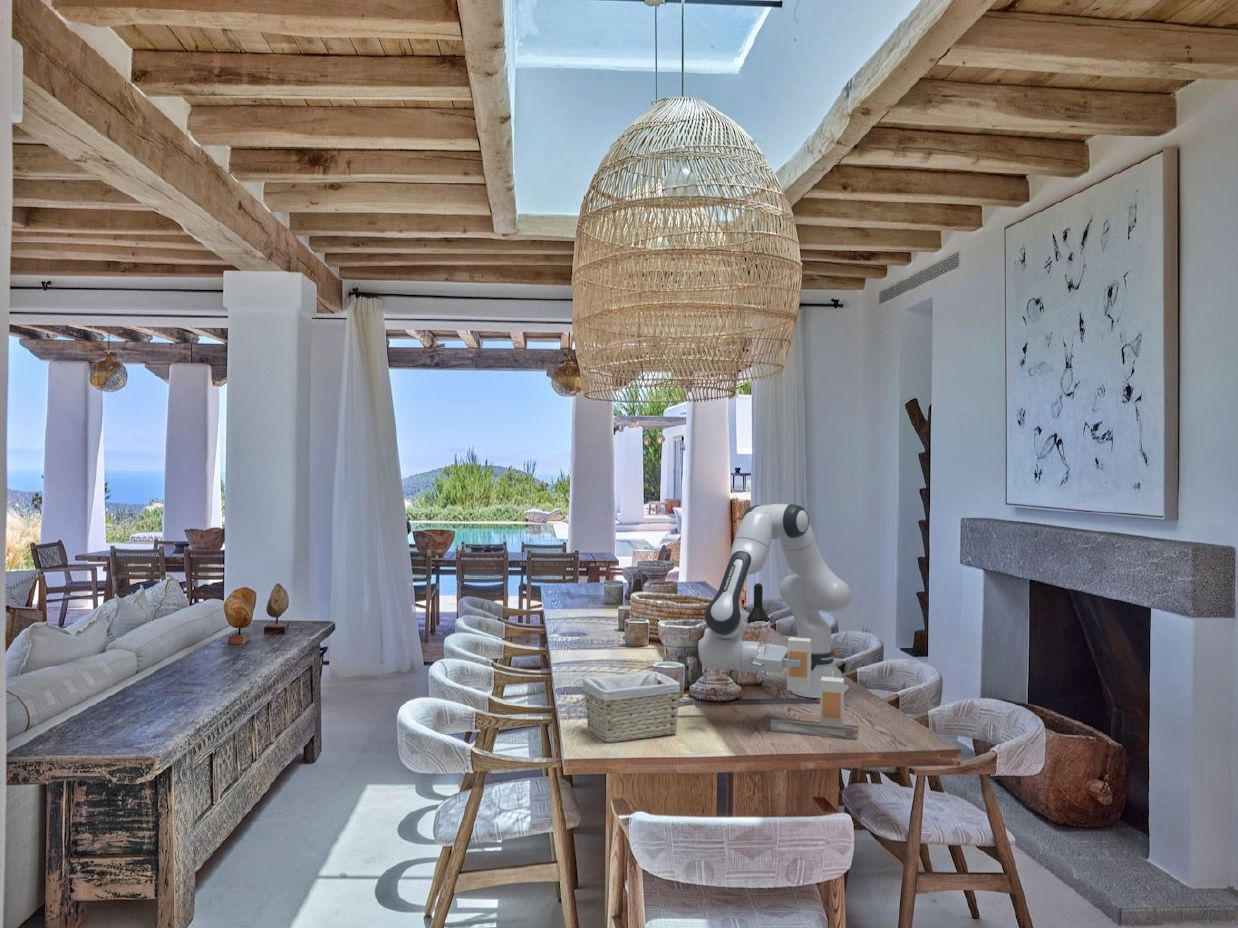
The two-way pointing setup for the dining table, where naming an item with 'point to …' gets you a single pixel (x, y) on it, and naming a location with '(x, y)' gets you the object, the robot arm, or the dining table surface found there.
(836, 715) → the carton
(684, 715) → the dining table surface
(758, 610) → the wine bottle
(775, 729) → the shelf board
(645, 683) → the storage basket
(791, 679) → the cream carton
